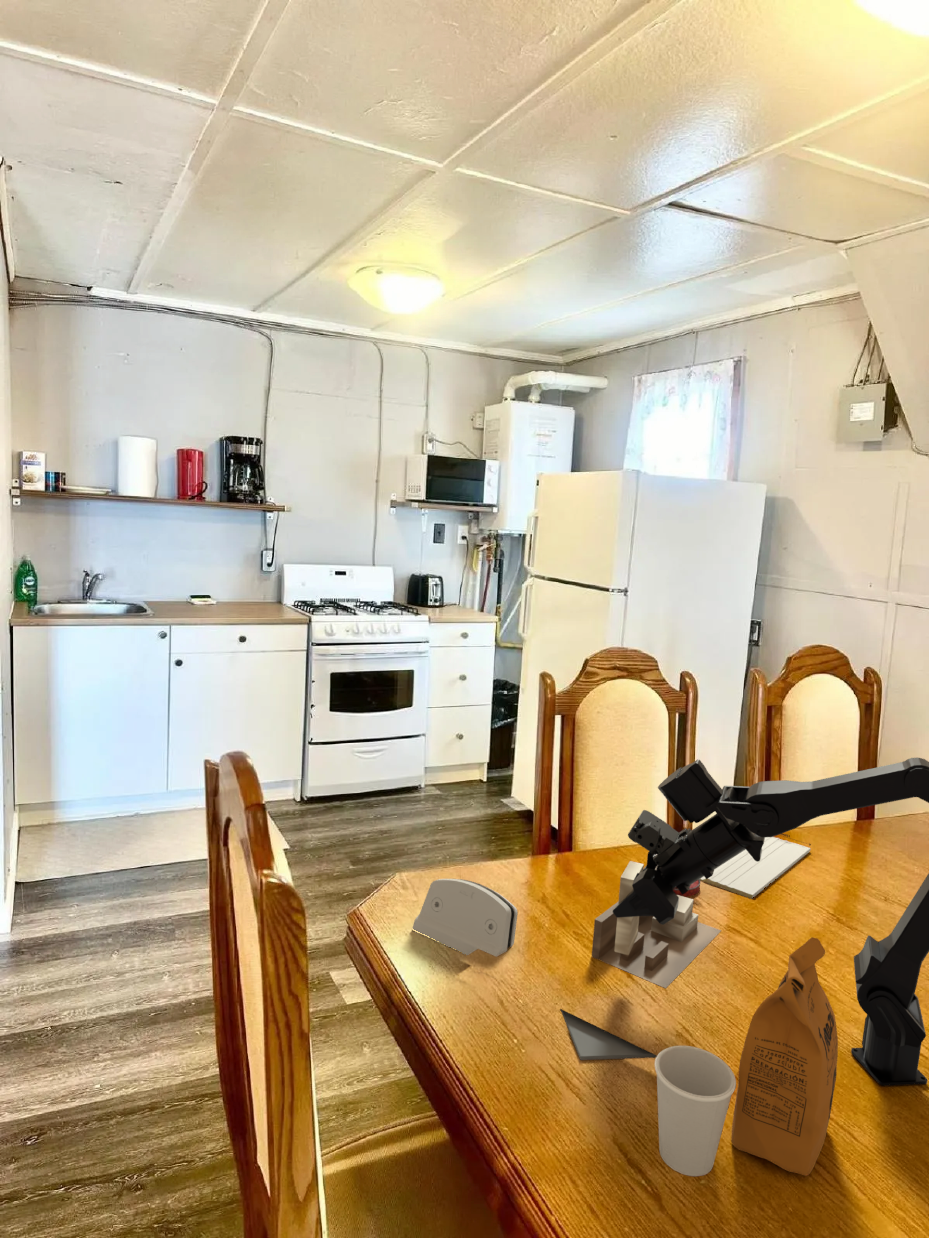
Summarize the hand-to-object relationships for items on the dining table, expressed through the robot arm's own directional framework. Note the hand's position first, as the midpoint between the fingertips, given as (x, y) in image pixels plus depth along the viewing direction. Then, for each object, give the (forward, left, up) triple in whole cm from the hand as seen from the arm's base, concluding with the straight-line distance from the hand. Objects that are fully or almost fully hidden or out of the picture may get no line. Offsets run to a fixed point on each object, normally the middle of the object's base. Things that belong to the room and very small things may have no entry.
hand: (619, 904), depth 116 cm
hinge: (+14, +20, -13) cm, 28 cm away
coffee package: (-28, -11, -13) cm, 33 cm away
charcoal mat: (-9, +3, -13) cm, 16 cm away
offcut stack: (+14, -15, -11) cm, 23 cm away
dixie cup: (-30, +1, -13) cm, 33 cm away
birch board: (-1, -1, -6) cm, 6 cm away
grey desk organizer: (+9, -10, -13) cm, 19 cm away
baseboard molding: (+41, -43, -14) cm, 61 cm away
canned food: (+30, -21, -13) cm, 39 cm away
